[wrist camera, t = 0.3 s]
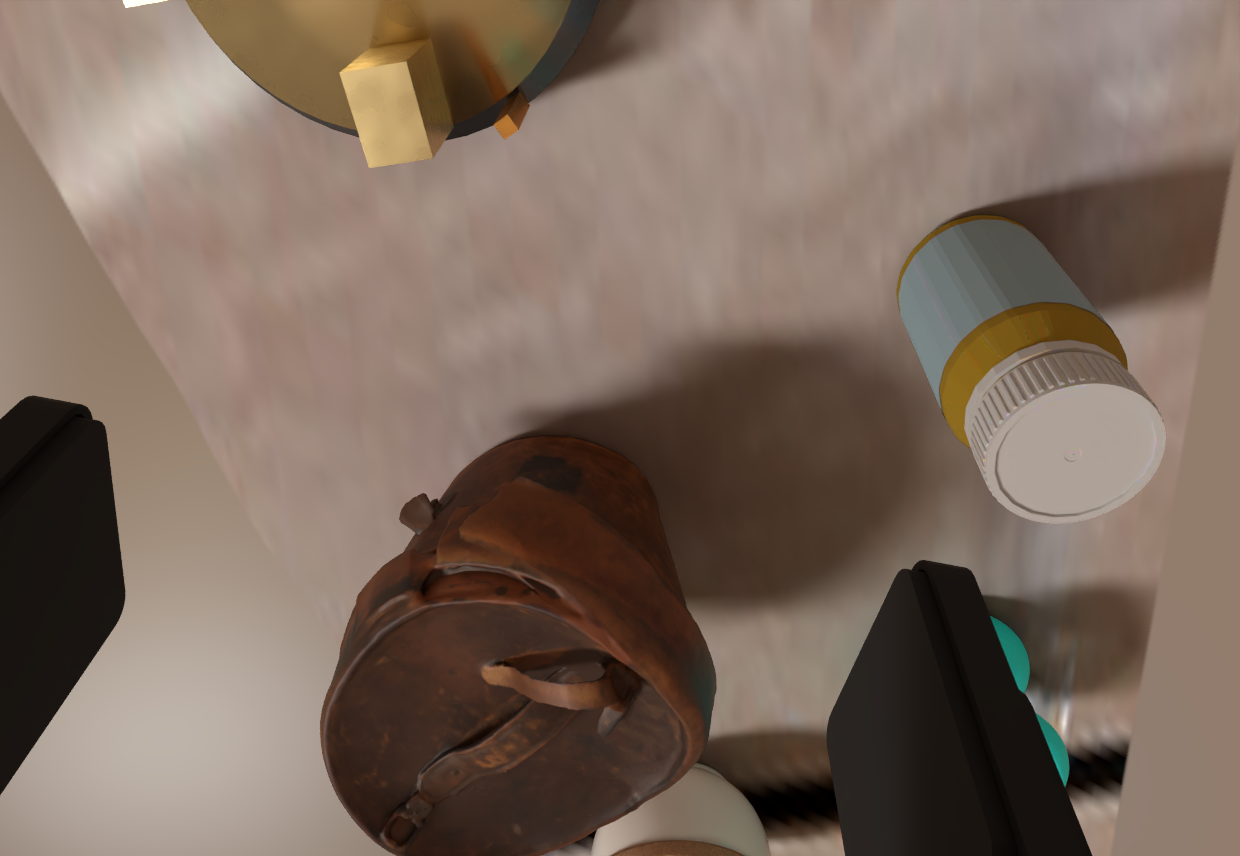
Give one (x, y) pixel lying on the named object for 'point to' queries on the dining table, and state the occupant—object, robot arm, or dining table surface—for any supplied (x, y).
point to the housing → (516, 103)
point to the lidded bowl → (688, 822)
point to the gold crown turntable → (385, 60)
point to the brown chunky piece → (518, 662)
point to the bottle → (1027, 372)
